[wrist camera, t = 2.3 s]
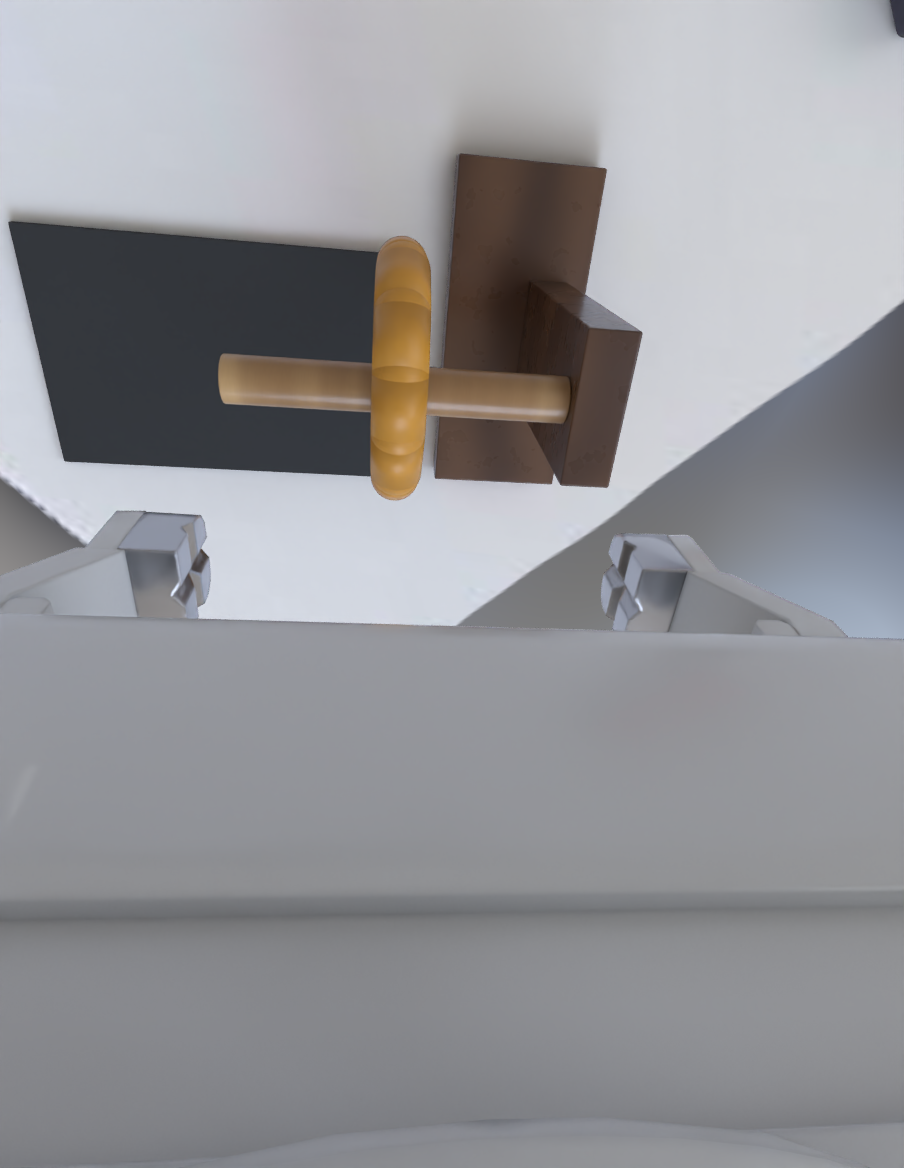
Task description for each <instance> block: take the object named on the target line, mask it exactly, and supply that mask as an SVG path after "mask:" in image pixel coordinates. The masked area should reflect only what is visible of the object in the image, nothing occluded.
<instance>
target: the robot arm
mask: <svg viewBox="0 0 904 1168" xmlns="http://www.w3.org/2000/svg"><path fill="white" fill-rule="evenodd" d="M206 538H207V536H206V529H205V522H204V520H203V518H202V516H201V515H189V514H173V513H156V512H146V511H116V512H115V513H114V514H113V515H112V517H111V518H110V519H109V520H108V521H107V523H106V524H105V525H104V526H103V527H102V528H101V530H100V531H99V532H98V533H97V534H96V535H95V537H94V538H93V539H92V540H91V541H90V542H89V544H88V545H87V546H86V547H85V548H74V549H71V550H68V551H66V552H63V553H60V554H57V555H55V556H52V557H49V558H47V559H44V560H41V561H38V562H35V563H33V564H30V565H27V566H24V567H22V568H19V569H16V570H14V571H11V572H8V573H5V574H2V575H0V1168H904V639H889V638H856V637H848V636H847V635H846V634H845V633H844V632H843V631H842V630H841V629H840V628H839V627H838V626H837V625H836V624H835V623H834V622H833V621H832V620H829V619H827V618H825V617H823V616H821V615H818V614H816V613H814V612H812V611H810V610H808V609H805V608H803V607H801V606H799V605H797V604H794V603H792V602H790V601H788V600H786V599H784V598H781V597H779V596H777V595H775V594H773V593H771V592H768V591H766V590H764V589H762V588H760V587H757V586H755V585H753V584H751V583H748V582H747V581H744V580H742V579H740V578H738V577H736V576H734V575H731V574H729V573H724V572H719V570H718V569H717V568H716V567H715V565H714V564H713V563H712V562H711V561H710V559H709V558H708V557H707V556H706V555H705V553H704V552H703V551H702V550H701V548H700V547H699V546H698V545H697V544H696V543H695V541H694V540H693V539H692V537H691V536H687V535H666V534H625V533H621V534H616V535H615V536H614V538H613V540H612V542H611V546H610V550H609V555H610V557H611V559H612V561H613V563H614V564H612V565H611V566H610V567H609V568H608V569H607V570H606V571H605V572H604V576H603V581H602V586H601V601H602V607H603V610H604V612H605V614H606V616H607V617H609V618H611V619H612V620H614V623H613V628H612V629H613V631H610V630H575V629H541V628H539V629H538V628H505V627H471V626H470V627H469V626H436V625H401V624H366V623H332V622H297V621H262V620H227V619H198V617H199V615H198V607H199V606H201V605H203V604H204V603H205V601H206V599H207V597H208V594H209V587H210V581H211V571H210V560H209V557H208V556H207V555H206V553H205V552H204V551H203V550H202V549H201V547H202V545H203V543H204V542H205V540H206Z"/></svg>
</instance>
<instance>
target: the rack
mask: <svg viewBox="0 0 904 1168" xmlns="http://www.w3.org/2000/svg"><path fill="white" fill-rule="evenodd" d="M606 172H607V169H605V168H597V167H587V166H577V165H567V164H558V163H548V162H538V161H528V160H518V159H509V158H499V157H489V156H479V155H470V154H458V155H457V158H456V172H455V185H454V199H453V212H452V226H451V240H450V253H449V267H448V280H447V294H446V307H445V321H444V335H443V348H442V362H441V368H436V367H429V384H428V399H427V415H426V416H437V430H436V443H435V457H434V475H435V478H436V479H453V480H474V481H494V482H515V483H535V484H552V480H553V475H554V474H555V476H556V478H557V480H558V482H559V483H560V485H562V486H582V487H603V488H607V487H608V486H609V481H610V477H611V472H612V468H613V463H614V459H615V454H616V450H617V446H618V441H619V437H620V432H621V428H622V423H623V419H624V414H625V410H626V405H627V401H628V396H629V392H630V387H631V383H632V378H633V374H634V369H635V365H636V361H637V356H638V352H639V347H640V343H641V338H642V332H641V331H640V330H638V329H637V328H635V327H634V326H632V325H631V324H629V323H627V322H626V321H624V320H623V319H621V318H620V317H618V316H617V315H615V314H614V313H612V312H611V311H609V310H608V309H606V308H605V307H603V306H602V305H600V304H598V303H597V302H595V301H594V300H592V299H591V298H589V297H588V296H586V295H585V292H586V286H587V280H588V275H589V269H590V263H591V258H592V252H593V246H594V240H595V235H596V229H597V223H598V218H599V212H600V206H601V200H602V195H603V189H604V183H605V178H606ZM371 382H372V363H362V362H347V361H332V360H317V359H302V358H287V357H272V356H257V355H242V354H227V353H223V354H222V355H221V357H220V360H219V367H218V383H219V391H220V396H221V399H222V401H223V403H225V404H236V405H253V406H270V407H287V408H304V409H321V410H338V411H355V412H371Z"/></svg>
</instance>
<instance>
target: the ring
mask: <svg viewBox="0 0 904 1168" xmlns="http://www.w3.org/2000/svg"><path fill="white" fill-rule="evenodd" d="M430 332H431V270H430V264H429V261H428V258H427V255H426V253H425V251H424V249H423V247H422V246H421V245H420V244H419V243H418V242H417V241H416V240H414V239H412V238H410V237H406V236H397V237H393V238H391V239H389V240H388V241H387V242H385V243H384V245H383V246H382V247H381V249H380V251H379V253H378V257H377V262H376V271H375V292H374V314H373V347H372V382H371V432H370V472H371V481H372V484H373V487H374V489H375V490H376V491H377V493H378V494H379V495H381V496H382V497H384V498H386V499H389V500H401V499H404V498H406V497H408V496H409V495H410V494H411V493H412V492H413V491H414V490H415V488H416V486H417V484H418V482H419V479H420V476H421V469H422V460H423V451H424V442H425V430H426V415H427V399H428V384H429V361H430Z"/></svg>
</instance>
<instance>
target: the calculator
mask: <svg viewBox="0 0 904 1168" xmlns="http://www.w3.org/2000/svg"><path fill="white" fill-rule="evenodd" d="M890 1H891V6H892V11H893V16H894V22H895V26H896V31H897V34H898V35H899V36H900V37H903V38H904V0H890Z"/></svg>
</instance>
